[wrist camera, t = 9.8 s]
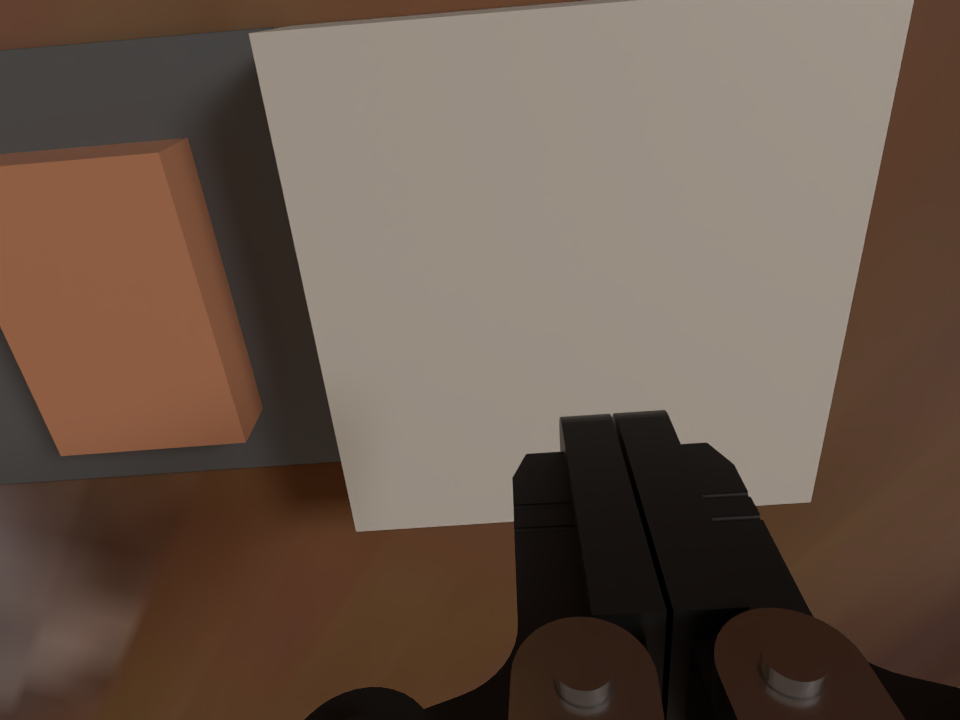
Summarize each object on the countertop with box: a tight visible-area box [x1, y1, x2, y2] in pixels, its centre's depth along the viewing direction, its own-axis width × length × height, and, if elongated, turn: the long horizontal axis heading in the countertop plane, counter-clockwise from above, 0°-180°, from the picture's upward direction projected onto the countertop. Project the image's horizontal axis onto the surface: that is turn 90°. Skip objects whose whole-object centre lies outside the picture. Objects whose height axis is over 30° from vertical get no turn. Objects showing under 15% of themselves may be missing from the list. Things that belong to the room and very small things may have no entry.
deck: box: [249, 0, 914, 532], centre depth 19 cm, size 14×14×4 cm
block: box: [0, 138, 263, 456], centre depth 20 cm, size 6×9×2 cm, turn 5°
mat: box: [0, 27, 341, 485], centre depth 21 cm, size 14×14×1 cm
